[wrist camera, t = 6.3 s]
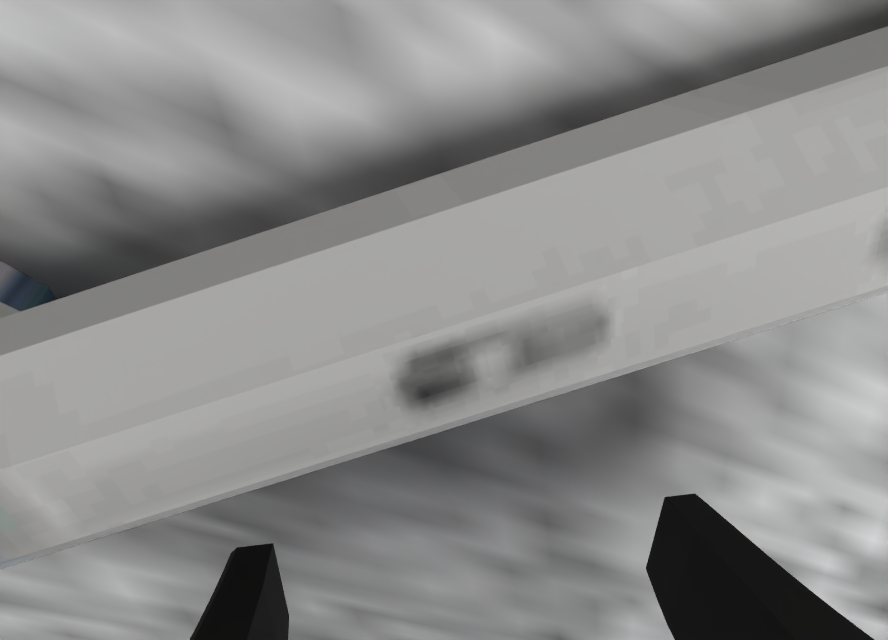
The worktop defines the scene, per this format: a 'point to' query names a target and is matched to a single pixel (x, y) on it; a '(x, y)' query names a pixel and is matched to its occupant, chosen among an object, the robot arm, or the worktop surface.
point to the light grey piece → (445, 300)
